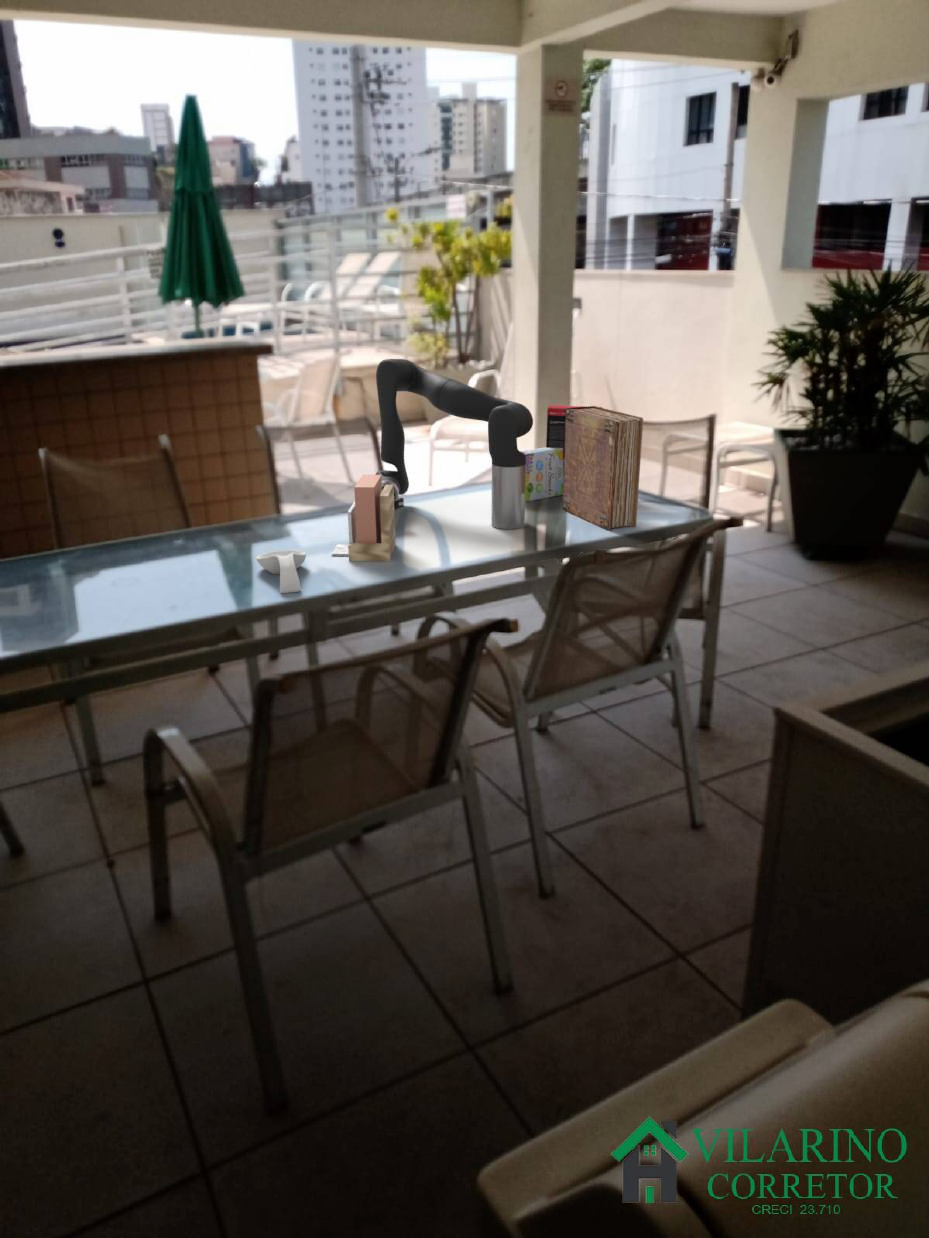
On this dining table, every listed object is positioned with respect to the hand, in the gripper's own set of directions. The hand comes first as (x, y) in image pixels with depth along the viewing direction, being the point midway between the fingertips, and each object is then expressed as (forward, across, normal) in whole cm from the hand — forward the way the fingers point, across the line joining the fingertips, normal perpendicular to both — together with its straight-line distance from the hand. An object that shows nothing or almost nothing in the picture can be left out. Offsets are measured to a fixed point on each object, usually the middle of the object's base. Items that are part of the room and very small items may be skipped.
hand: (377, 510), depth 239 cm
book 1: (+13, 0, +7) cm, 15 cm away
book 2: (-19, +61, +7) cm, 64 cm away
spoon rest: (+35, -18, +7) cm, 40 cm away
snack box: (-43, +44, +7) cm, 62 cm away
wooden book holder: (+16, 0, +7) cm, 17 cm away
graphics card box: (-49, +56, +7) cm, 75 cm away
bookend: (+15, -7, +7) cm, 17 cm away
